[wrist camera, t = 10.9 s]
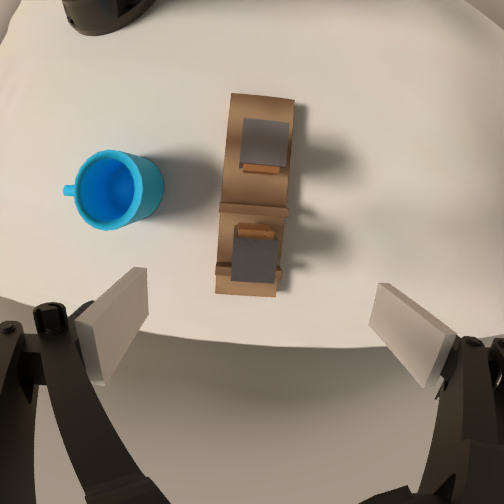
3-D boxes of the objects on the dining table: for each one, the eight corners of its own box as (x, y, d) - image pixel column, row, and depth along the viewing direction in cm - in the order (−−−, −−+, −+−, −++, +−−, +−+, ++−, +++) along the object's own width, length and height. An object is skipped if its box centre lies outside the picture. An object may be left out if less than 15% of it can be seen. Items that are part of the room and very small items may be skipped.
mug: (165, 156, 32) (145, 148, 24) (162, 221, 34) (141, 232, 26) (83, 159, 32) (49, 155, 24) (81, 219, 33) (48, 228, 25)
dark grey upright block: (234, 219, 33) (234, 230, 25) (269, 222, 33) (279, 234, 25) (231, 259, 34) (230, 281, 26) (265, 261, 34) (274, 283, 26)
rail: (231, 98, 31) (229, 66, 21) (291, 104, 32) (311, 76, 22) (216, 287, 36) (209, 323, 27) (273, 291, 37) (285, 327, 27)
